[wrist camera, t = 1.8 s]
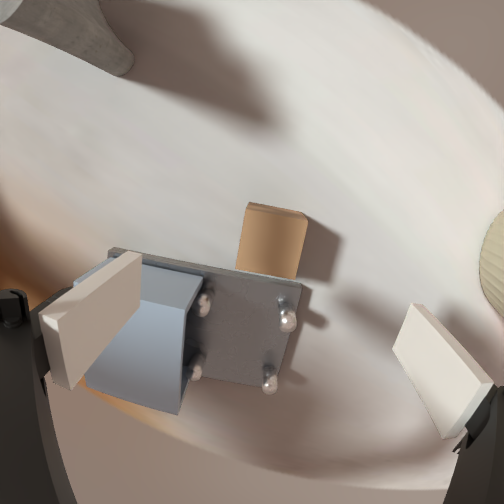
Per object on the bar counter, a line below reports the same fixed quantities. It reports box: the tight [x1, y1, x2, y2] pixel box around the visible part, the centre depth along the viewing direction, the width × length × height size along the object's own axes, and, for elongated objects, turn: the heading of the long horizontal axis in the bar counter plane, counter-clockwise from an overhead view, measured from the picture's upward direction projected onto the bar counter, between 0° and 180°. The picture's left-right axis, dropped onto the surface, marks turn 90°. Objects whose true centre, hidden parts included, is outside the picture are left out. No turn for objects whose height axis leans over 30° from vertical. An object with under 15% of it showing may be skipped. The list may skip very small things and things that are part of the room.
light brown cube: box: [235, 202, 308, 280], centre depth 26 cm, size 5×5×5 cm
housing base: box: [108, 247, 302, 395], centre depth 29 cm, size 20×13×4 cm, turn 80°
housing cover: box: [73, 257, 203, 415], centre depth 27 cm, size 10×12×7 cm
